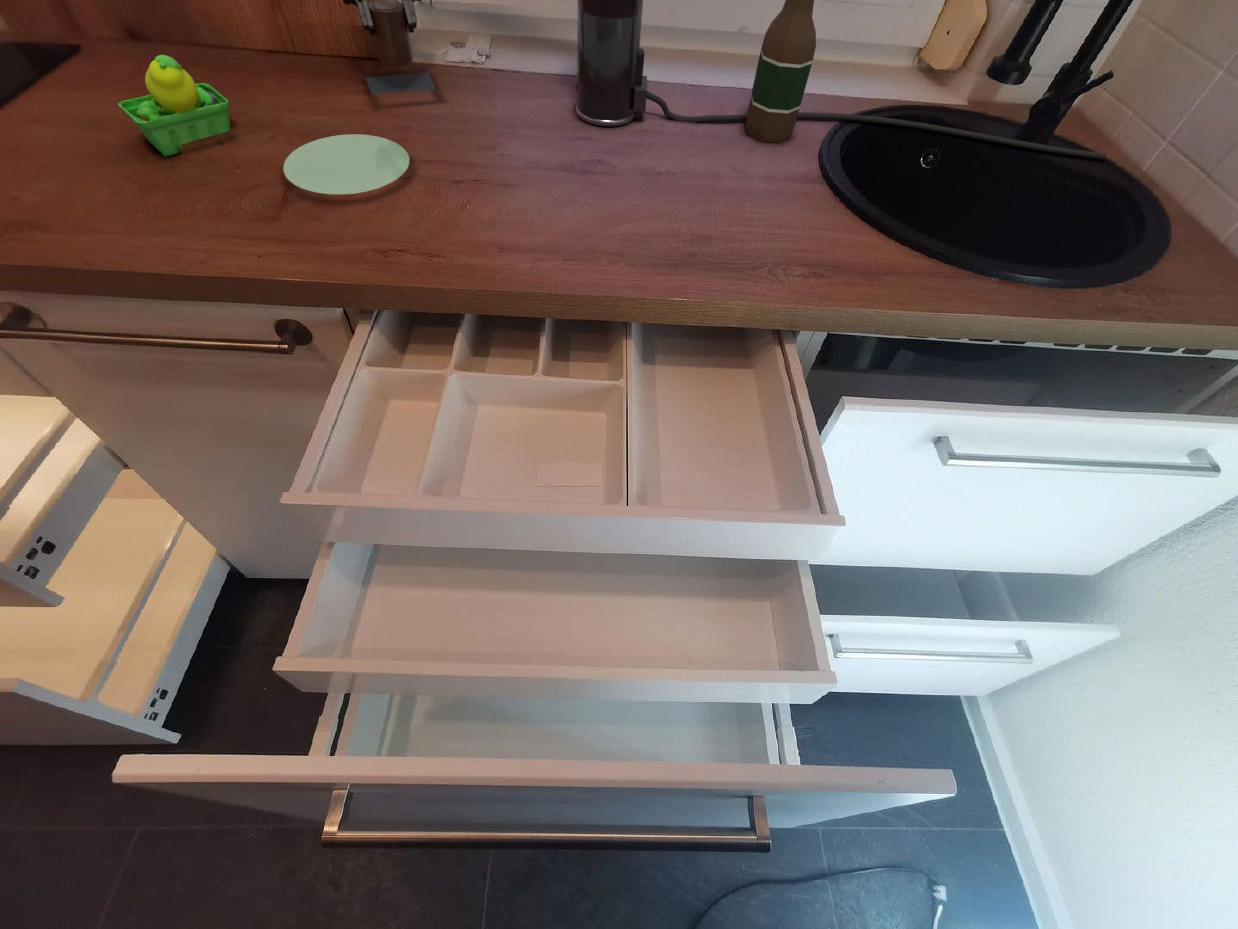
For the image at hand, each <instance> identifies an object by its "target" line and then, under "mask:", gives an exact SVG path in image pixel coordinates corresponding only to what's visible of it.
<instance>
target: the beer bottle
mask: <svg viewBox="0 0 1238 929" xmlns="http://www.w3.org/2000/svg"><path fill="white" fill-rule="evenodd" d="M814 4H815V0H785V1H784V2H783V6H782V8H781V10H780V11H779V13H778V14H777V15H776V16H775V17H774V19H772V21H771V23H770V24H769V26H768V28H767V30H766V31H765V34H764V37H763V41H762V44H761V48H760V51H759V58H758V61H757V65H756V70H755V74H754V75H755V76H754V78H753V79H754V80H753V85H752V90H751V94H750V98H749V103H748V107H747V113H746V114H747V118H746V120H745V129H746V134H747V136H749V137H751V138H753V139H755V140H756V141H759V142H763V143H774V144H780V143H783V142H784V141H787V140H788V139H790V138H791V137H792V135H793V133H794V129H795V126H796V122H797V120H798V119H797V116H798V112H800V109H801V105H802V101H803V97H804V94H805V91H806V87H807V83H808V80H809V76H810V72H811V69H812V65H813V62H814V57H815V53H816V47H817V30H816V27H815V23H814V19H813V12H814Z"/></svg>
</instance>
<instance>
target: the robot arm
mask: <svg viewBox="0 0 1238 929" xmlns="http://www.w3.org/2000/svg"><path fill="white" fill-rule="evenodd" d="M421 1H422V0H400V2H401V3H402V4H403V5H404V10H405V16H406V22H407V27H408V33H409V34H412V33H415V29H417V25H418V19H417V18H418V17H417V15H416V10H415V6H414V3H415V2H421ZM342 2H343V3H344V4H345V5H346V6H347V5H348V6H349V5H353V6H355V7H356V8H357V10H358V14H359V18H360V20H361V25H362V28H363V30H364V31H365V32H367V31H368V33H369V36H374V35H375V32H374V26H373V22H372V18H371V14H370V11H369V7H368V4H369V3H368V0H342ZM643 8H644V0H577V19H576V20H577V23H576V24H577V25H576V27H577V30H576V31H577V33H576V34H577V35H576V37H577V38H576V57H577V58H576V83H575V92H576V105H575V114H576V115H577V117H578V118H579V119H581V120H582V121H584V122H585V123H588V124H591V125H594V126H600V127H618V126H624V125H626V124H629V123H631V122H632V121H633V120H637V119H640V115H641V114H640V113H645V112H646V110H647V100H650V101H651V102H654V103H656V104H657V105H658V106H660V108H661V109H662V113H663V114H664V116H665V117H666V118H668V119H670V120H671V121H674V122H683V123H691V124H699V123H700V124H701V123H715V122H717V123H721V122H722V123H728V122H744V121H745V122H746V118H747V113H744V114H743V113H741V114H711V115H699V116H682V115H678V114H676V113H674V112H672V111H670V109H669V107H668V104H667V102H666V101H665V100H664V99H663V98H662V97H660V96H658V95H657V94H654V93H652V92H650V91H648V76H647V75H644V65H645V50H644V48H643V47H642V46H641V37H642V36H641V35H642V22H643ZM797 120H834V121H846V122H847V121H848V122H860V123H870V124H879V125H887V126H888V125H889V126H896V127H903V128H910V129H917V130H923V131H928V132H933V133H934V132H935V133H940V134H946V135H950V136H957V137H961V138H967V139H973V140H979V141H983V142H988V143H994V144H1000V145H1005V146H1009V147H1015V148H1021V149H1027V150H1031V151H1038V152H1043V153H1050V154H1056V155H1062V156H1063V155H1064V156H1070V157H1078V158H1084V159H1092V160H1098V161H1099V160H1100V161H1104V160H1105V158H1106V157H1107V153H1103V152H1098V151H1097V152H1095V151H1087V150H1081V149H1073V148H1066V147H1060V146H1059V147H1058V146H1052V145H1046V144H1042V143H1036V142H1035V143H1034V142H1029V141H1024V140H1019V139H1013V138H1007V137H1003V136H996V135H991V134H986V133H980V132H976V131H970V130H965V129H959V128H955V127H954V128H953V127H947V126H944V125H943V126H942V125H936V124H930V123H924V122H919V121H912V120H904V119H896V118H890V117H882V116H875V115H874V116H873V115H864V114H862V115H861V114H851V113H850V114H849V113H838V112H837V113H836V112H835V113H834V112H805V111H803V112H802V111H801V112H800V111H799V112H798V116H797Z"/></svg>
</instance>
